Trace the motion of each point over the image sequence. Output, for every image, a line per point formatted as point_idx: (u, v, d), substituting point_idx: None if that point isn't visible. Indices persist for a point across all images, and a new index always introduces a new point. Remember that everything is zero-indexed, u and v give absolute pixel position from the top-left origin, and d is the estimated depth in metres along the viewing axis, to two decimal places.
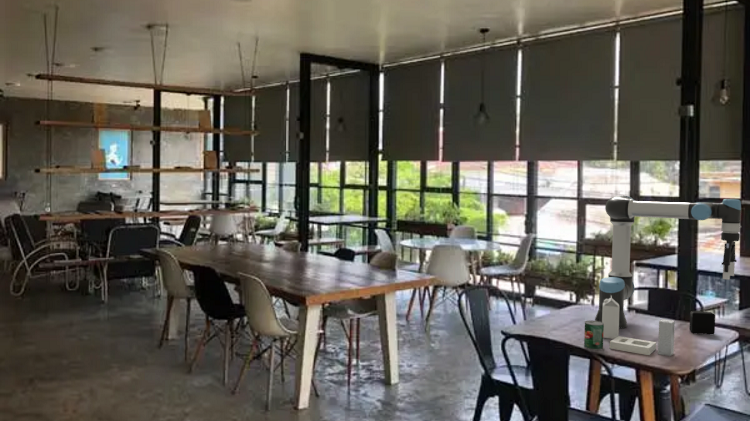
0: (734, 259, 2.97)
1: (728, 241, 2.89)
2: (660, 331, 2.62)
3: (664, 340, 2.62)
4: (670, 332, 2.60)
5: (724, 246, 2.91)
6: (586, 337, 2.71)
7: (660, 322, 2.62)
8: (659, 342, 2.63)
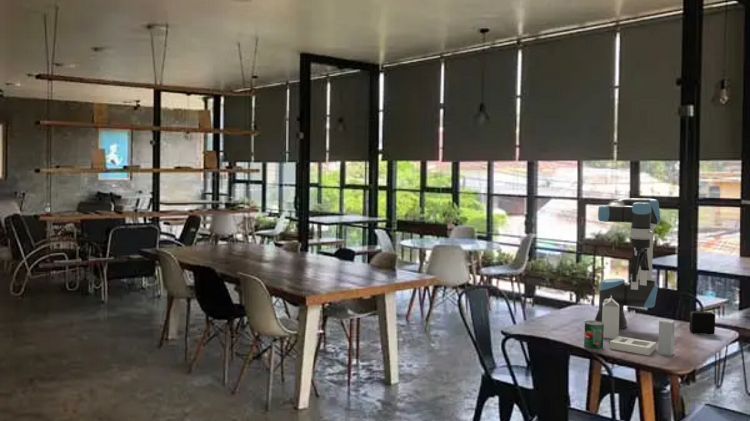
0: (646, 267, 2.75)
1: (637, 248, 2.66)
2: (660, 331, 2.62)
3: (664, 340, 2.62)
4: (670, 332, 2.60)
5: None
6: (586, 337, 2.71)
7: (660, 322, 2.62)
8: (659, 342, 2.63)
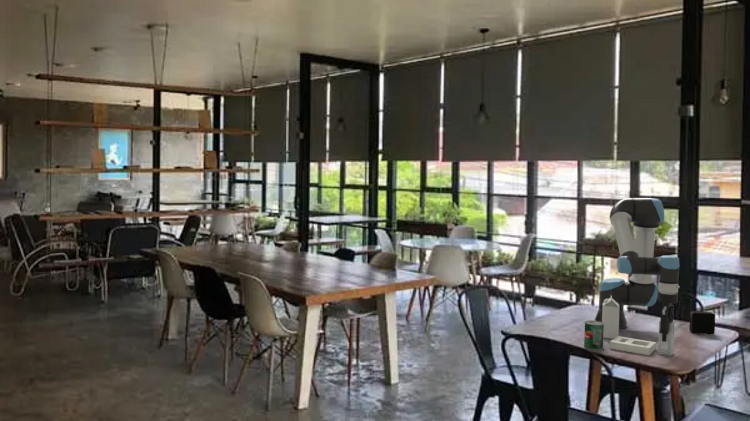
0: None
1: (665, 303, 2.60)
2: None
3: None
4: (670, 332, 2.60)
5: (661, 309, 2.62)
6: (586, 337, 2.71)
7: None
8: (659, 342, 2.63)
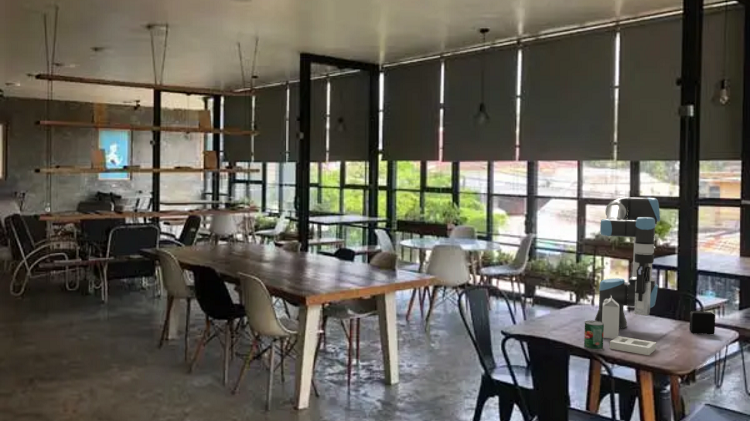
0: None
1: (641, 263, 2.64)
2: None
3: None
4: (646, 292, 2.64)
5: None
6: (586, 337, 2.71)
7: None
8: (635, 302, 2.67)
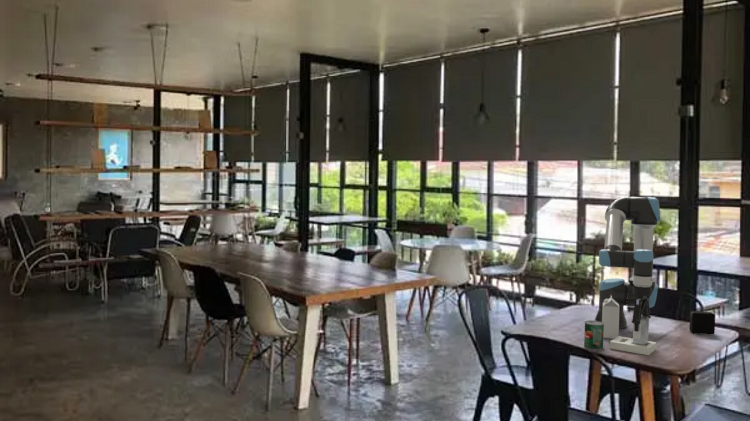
0: (648, 315, 2.73)
1: (639, 296, 2.65)
2: None
3: None
4: (644, 328, 2.65)
5: None
6: (586, 337, 2.71)
7: None
8: None
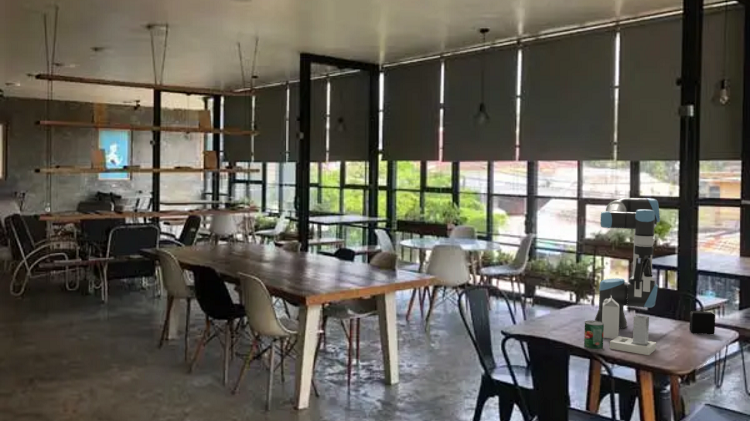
0: (650, 274, 2.75)
1: (640, 255, 2.66)
2: (634, 327, 2.68)
3: (638, 335, 2.67)
4: (644, 328, 2.65)
5: None
6: (586, 337, 2.71)
7: (634, 318, 2.67)
8: (633, 337, 2.68)
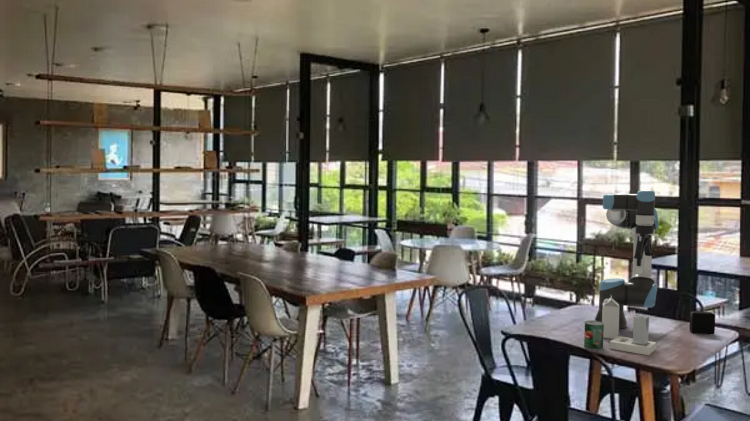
0: (650, 253, 2.87)
1: (641, 234, 2.79)
2: (634, 327, 2.68)
3: (638, 335, 2.67)
4: (644, 328, 2.65)
5: None
6: (586, 337, 2.71)
7: (634, 318, 2.67)
8: (633, 337, 2.68)
